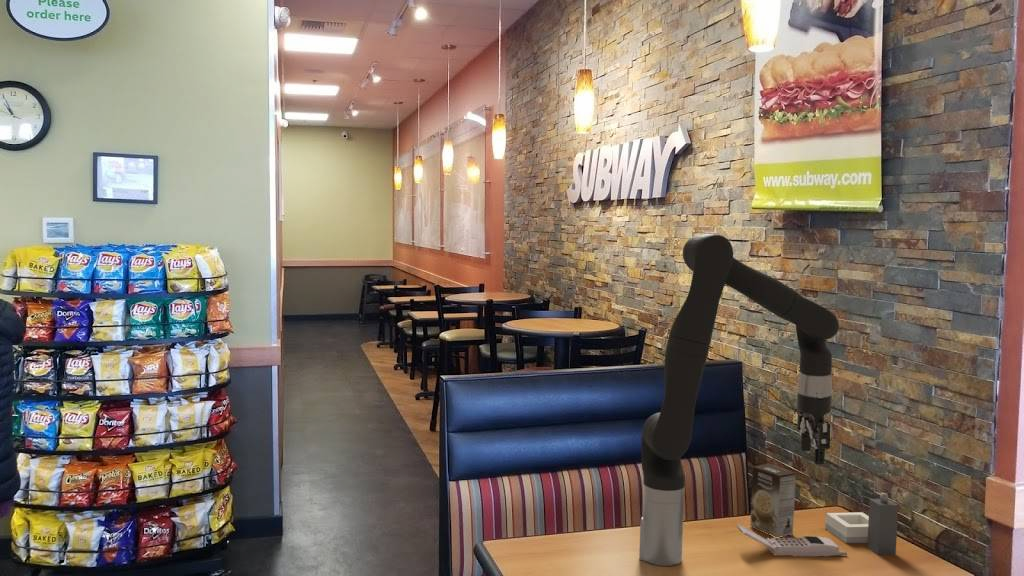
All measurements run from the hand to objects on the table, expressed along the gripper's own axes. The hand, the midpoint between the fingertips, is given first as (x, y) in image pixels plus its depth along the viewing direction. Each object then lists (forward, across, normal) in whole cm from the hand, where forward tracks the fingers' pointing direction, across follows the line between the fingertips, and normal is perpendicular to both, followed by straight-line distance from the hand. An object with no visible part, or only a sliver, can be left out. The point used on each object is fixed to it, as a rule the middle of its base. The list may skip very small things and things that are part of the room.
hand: (812, 457), depth 189 cm
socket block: (+24, -7, +14) cm, 29 cm away
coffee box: (+23, -9, -6) cm, 26 cm away
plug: (+23, +3, +16) cm, 28 cm away
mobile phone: (+22, +4, -6) cm, 23 cm away
